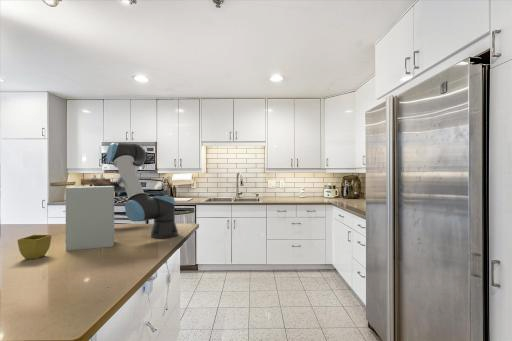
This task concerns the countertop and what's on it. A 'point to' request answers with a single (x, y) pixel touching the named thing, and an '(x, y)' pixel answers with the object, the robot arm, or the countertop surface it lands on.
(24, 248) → the flower pot
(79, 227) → the stand
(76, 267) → the countertop surface
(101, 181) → the T-bar
